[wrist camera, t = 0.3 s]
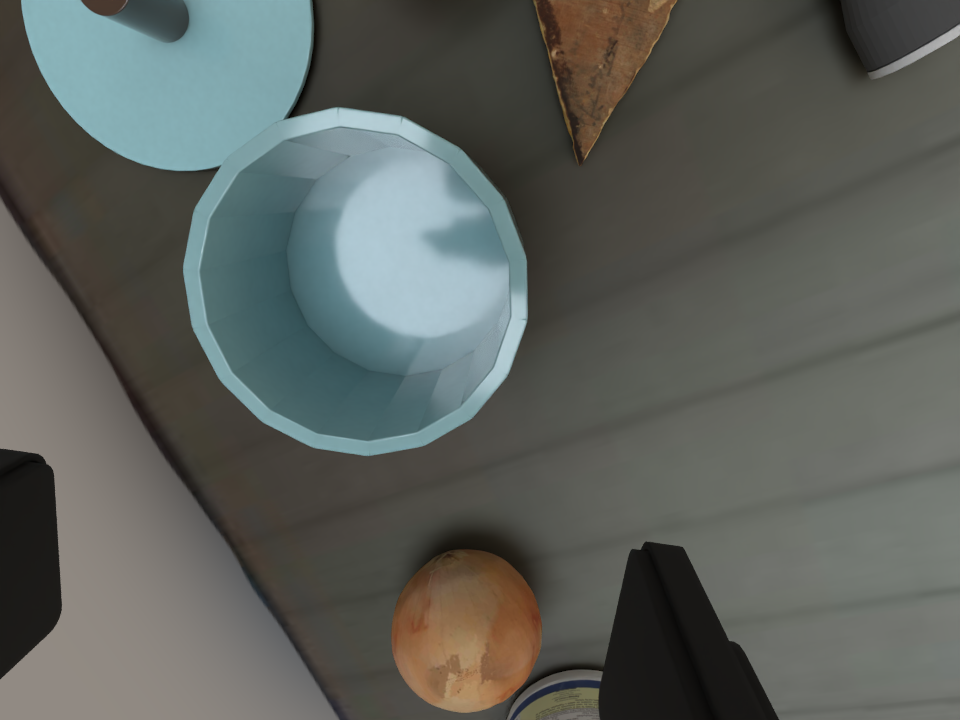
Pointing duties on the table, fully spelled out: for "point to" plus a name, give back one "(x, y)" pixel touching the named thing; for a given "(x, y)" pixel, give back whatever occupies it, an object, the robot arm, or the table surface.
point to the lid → (173, 71)
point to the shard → (597, 56)
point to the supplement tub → (560, 697)
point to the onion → (466, 631)
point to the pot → (356, 281)
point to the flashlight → (898, 30)
